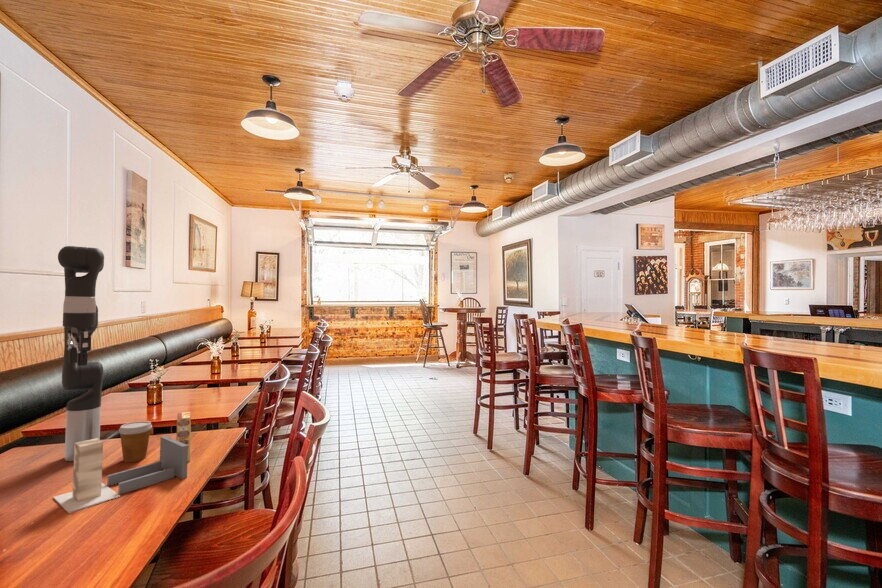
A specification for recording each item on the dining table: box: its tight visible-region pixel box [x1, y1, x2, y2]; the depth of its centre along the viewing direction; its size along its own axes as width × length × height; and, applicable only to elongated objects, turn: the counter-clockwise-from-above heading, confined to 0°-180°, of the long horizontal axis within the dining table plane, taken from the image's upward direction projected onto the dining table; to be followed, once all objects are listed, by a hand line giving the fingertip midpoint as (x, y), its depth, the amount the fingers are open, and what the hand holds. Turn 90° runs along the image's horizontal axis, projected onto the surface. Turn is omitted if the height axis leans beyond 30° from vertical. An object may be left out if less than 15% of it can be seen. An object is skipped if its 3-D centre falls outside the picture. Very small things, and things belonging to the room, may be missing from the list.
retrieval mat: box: [52, 482, 121, 514], centre depth 114 cm, size 14×11×1 cm
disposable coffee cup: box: [118, 420, 153, 463], centre depth 143 cm, size 10×10×12 cm
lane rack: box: [106, 435, 188, 495], centre depth 126 cm, size 16×16×10 cm
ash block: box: [72, 438, 104, 502], centre depth 114 cm, size 5×5×15 cm
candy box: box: [175, 411, 192, 462], centre depth 144 cm, size 9×4×15 cm, turn 33°
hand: (77, 364), depth 125 cm, fingers open, 8 cm apart
